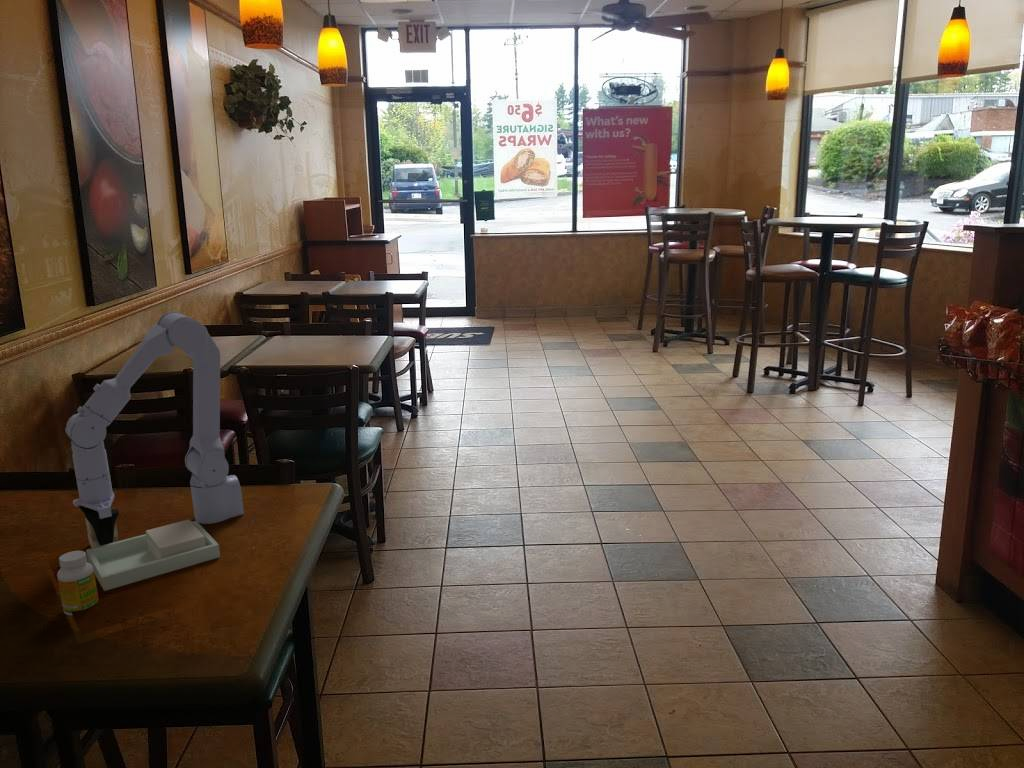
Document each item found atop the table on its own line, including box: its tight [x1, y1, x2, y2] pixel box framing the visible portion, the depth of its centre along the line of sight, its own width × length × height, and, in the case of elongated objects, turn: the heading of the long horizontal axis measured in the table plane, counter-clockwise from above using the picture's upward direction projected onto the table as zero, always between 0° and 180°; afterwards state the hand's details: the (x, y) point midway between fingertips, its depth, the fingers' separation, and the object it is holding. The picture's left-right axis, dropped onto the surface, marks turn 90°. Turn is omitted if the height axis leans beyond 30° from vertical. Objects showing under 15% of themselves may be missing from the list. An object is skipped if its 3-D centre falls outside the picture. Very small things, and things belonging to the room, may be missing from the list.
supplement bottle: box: [56, 550, 99, 617], centre depth 136 cm, size 5×5×10 cm
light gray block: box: [145, 519, 206, 560], centre depth 154 cm, size 8×10×4 cm
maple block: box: [84, 516, 120, 549], centre depth 158 cm, size 4×4×7 cm
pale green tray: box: [85, 520, 221, 592], centre depth 152 cm, size 20×14×4 cm
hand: (103, 540), depth 159 cm, fingers closed on maple block, 4 cm apart
